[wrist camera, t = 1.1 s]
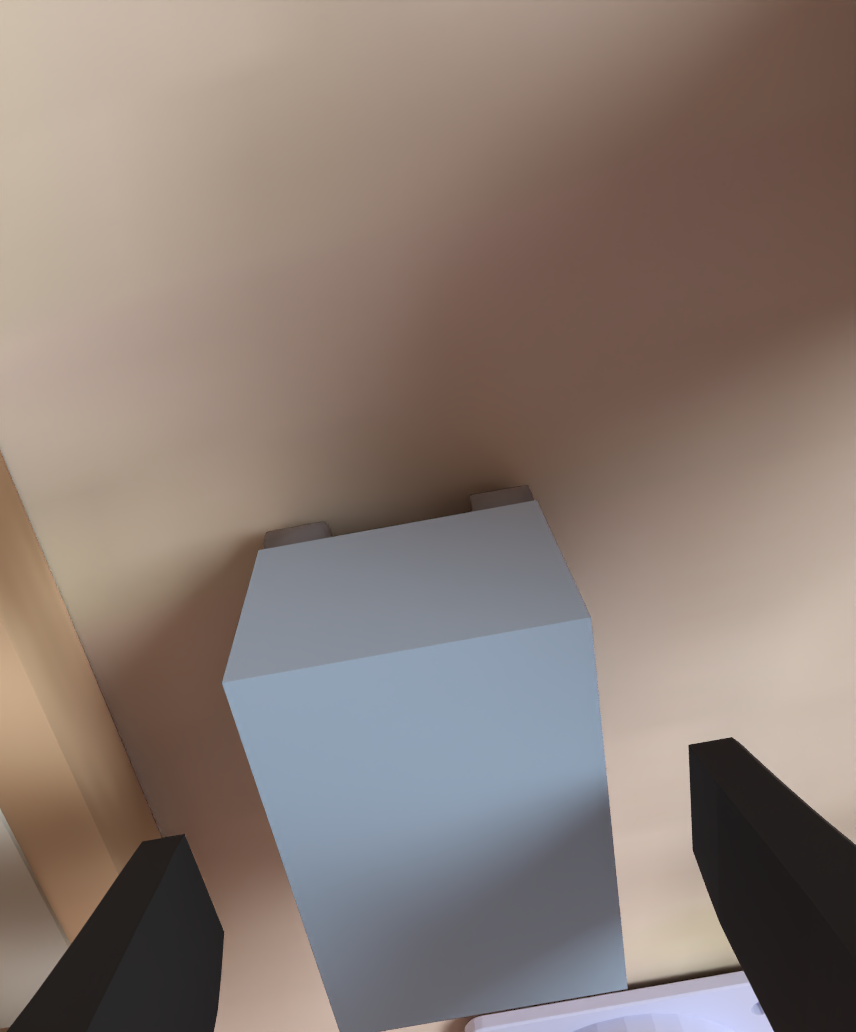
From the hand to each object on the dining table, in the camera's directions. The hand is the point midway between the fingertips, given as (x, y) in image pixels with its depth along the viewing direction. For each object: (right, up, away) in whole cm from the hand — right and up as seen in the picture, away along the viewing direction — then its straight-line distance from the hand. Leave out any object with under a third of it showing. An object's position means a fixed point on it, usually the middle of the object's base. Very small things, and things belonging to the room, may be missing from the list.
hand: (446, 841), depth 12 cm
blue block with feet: (0, +2, +5) cm, 5 cm away
